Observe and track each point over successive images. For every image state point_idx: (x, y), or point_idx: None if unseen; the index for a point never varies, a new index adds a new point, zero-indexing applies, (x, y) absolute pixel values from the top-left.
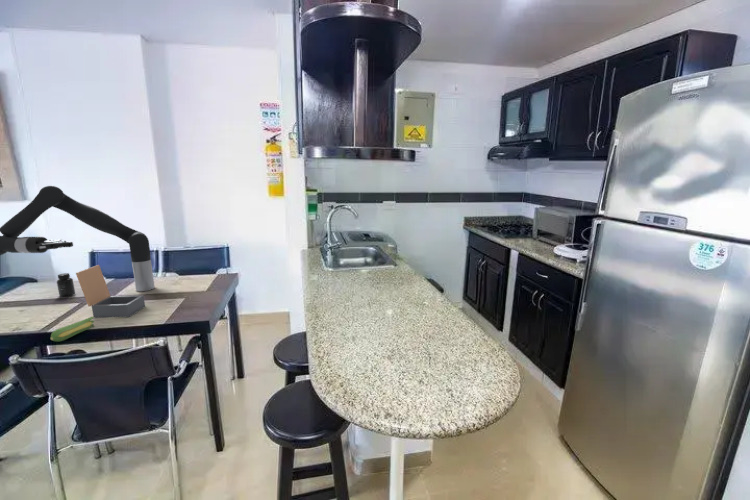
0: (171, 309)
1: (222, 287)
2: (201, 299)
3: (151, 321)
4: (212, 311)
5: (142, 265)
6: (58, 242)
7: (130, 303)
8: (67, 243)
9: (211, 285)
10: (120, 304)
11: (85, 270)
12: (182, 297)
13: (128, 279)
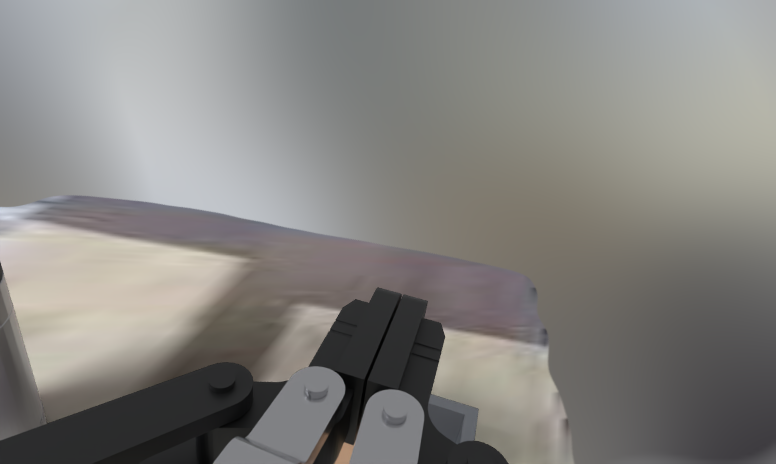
0: None
1: (236, 228)
2: (342, 272)
3: (525, 376)
4: (466, 261)
5: (6, 305)
6: (402, 431)
7: (455, 402)
8: (435, 329)
9: (183, 244)
10: (465, 435)
11: None
12: (285, 310)
13: None
